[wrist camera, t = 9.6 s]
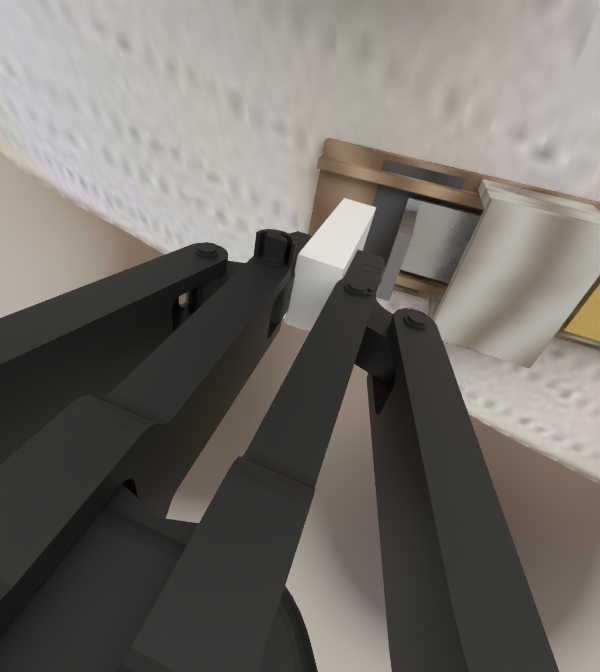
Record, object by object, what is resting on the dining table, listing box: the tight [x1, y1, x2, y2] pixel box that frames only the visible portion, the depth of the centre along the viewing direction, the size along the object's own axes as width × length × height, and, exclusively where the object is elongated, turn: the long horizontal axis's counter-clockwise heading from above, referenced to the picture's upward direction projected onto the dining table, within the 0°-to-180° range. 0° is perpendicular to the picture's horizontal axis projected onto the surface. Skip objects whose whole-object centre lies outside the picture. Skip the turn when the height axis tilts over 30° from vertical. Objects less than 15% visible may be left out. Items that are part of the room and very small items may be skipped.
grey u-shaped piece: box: [376, 196, 600, 341], centre depth 33 cm, size 30×8×10 cm, turn 80°
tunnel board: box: [309, 138, 600, 368], centre depth 35 cm, size 42×14×10 cm, turn 80°
